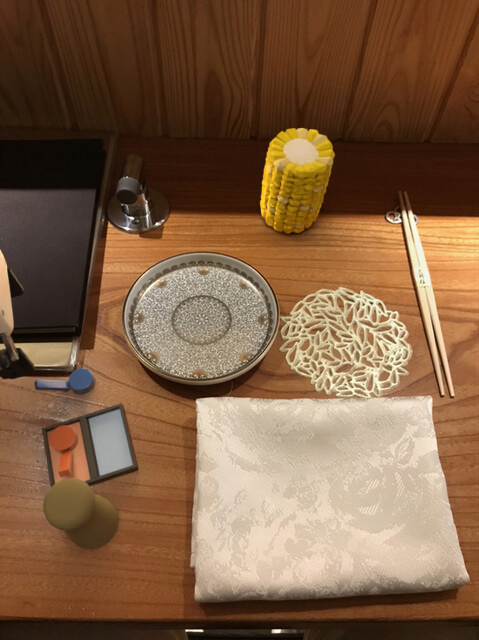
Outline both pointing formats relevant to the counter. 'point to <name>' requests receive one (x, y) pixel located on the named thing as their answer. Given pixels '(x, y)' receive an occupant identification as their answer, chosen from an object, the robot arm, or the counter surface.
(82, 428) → the sorting tray
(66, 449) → the terracotta spoon
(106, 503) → the olive waisted cylinder
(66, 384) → the blue spoon
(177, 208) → the counter surface
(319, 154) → the food
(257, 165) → the counter surface
